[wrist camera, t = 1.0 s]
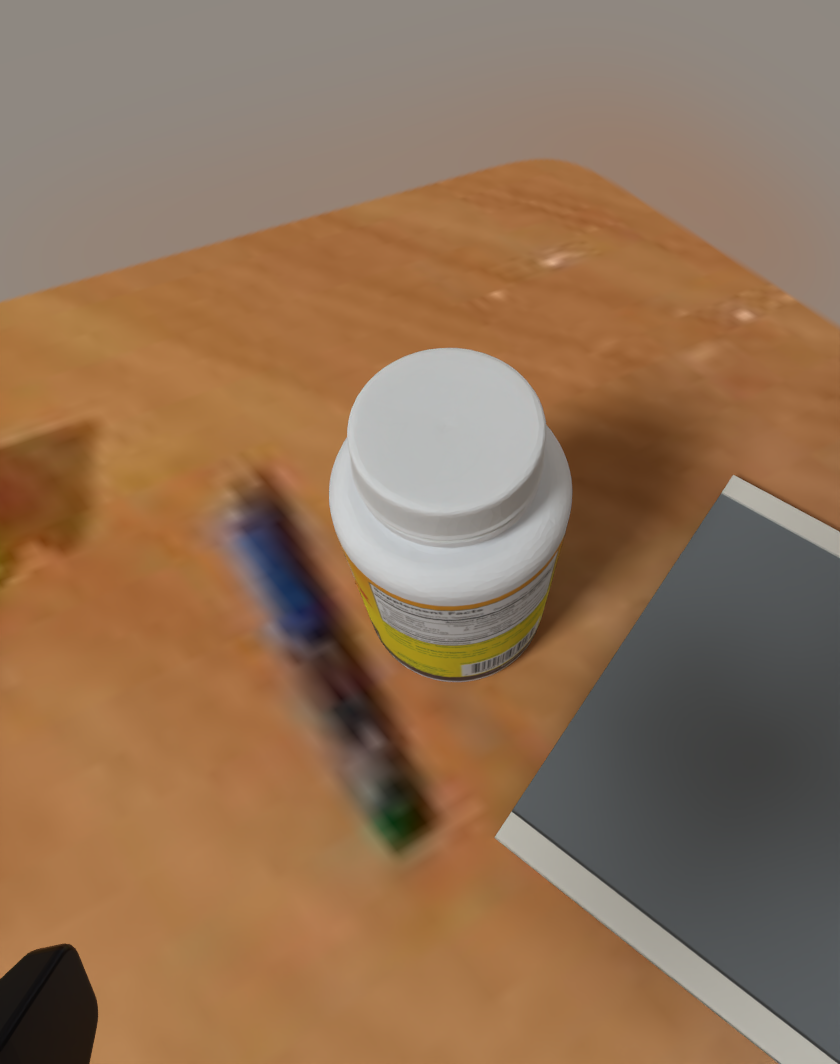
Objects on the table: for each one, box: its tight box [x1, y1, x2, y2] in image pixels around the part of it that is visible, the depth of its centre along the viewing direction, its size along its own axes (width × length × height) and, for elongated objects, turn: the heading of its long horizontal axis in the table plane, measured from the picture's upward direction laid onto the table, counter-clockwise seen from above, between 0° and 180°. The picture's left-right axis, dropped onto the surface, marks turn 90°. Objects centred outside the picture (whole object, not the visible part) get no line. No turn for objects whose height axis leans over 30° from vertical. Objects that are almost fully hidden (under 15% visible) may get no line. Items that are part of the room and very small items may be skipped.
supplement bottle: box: [329, 348, 572, 682], centre depth 18 cm, size 6×6×10 cm
